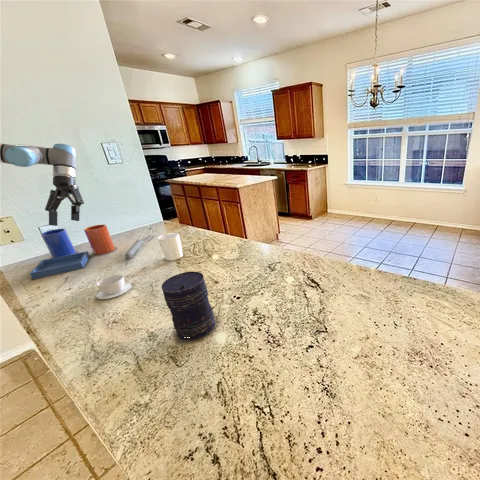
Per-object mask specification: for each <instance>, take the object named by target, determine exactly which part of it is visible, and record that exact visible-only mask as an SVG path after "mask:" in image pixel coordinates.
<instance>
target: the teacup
mask: <svg viewBox="0 0 480 480" xmlns="http://www.w3.org/2000/svg"><path fill="white" fill-rule="evenodd" d="M96 286H97V288H98V289H99V291H98V292H97V294H96V295H95V297H96V299H99V300H108V299H114V298H115V297H119V296H121V295H124V294H125V293H126V292H128V291H129V290H130V289H131V288H132V283H130V282H125V278H124V275H123V274H112V275H108V276H106V277H103V278H102V279H100V280H98V281H97V282H96Z"/></svg>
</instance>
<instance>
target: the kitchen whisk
mask: <svg viewBox="0 0 480 480" xmlns="http://www.w3.org/2000/svg"><path fill="white" fill-rule="evenodd" d="M147 228H148V229H149V230H150V231H149V232H148V234H151V232H152V233H154V232H153V231H155V233H157V232H156V230H153V229H154V226H153V227H152V226H151V224H149V225H147ZM144 230H145V229H144ZM146 232H147V229H146V230H145V231H144V232H143V233H142V231H139V233H138V235H137V236H138V237H140V238H139V239H136V241H135V242H134V243H133V244H132V245H131V246H130V248H129V249H128V250H127V251H126V252H125V253H124V254H123V258H124V259H125V260H127V261H130V259H131V258H132V257H133V256H134V255H135V253H136V252H137V251H138V250H139V248H141V246H142V245H143V243H144V242H147V241H149V240H150V239H151V238H153V237H154V234H152V235H151V236H150V237H149V235H146V238H145V239H143V238H142V237H143V236H144V235H145V233H146ZM141 233H142V234H141ZM148 237H149V238H148Z"/></svg>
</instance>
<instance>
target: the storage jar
mask: <svg viewBox="0 0 480 480" xmlns="http://www.w3.org/2000/svg"><path fill="white" fill-rule="evenodd" d="M160 286H161V287H160V288H161V291H162V293H163V298H164V301H165V304H166V306H167V308H168V309H169V311H170V315H171V321H172V323H173V328H174V330H175V332H176V335H177V338H178V339H179V340H181V341H183V342H193V341H196V340H197V341H198V340H199V339H202V338H204V337H206V336H208V335H209V334H210V333H211V332H212V331H213V330H214V329H215V327H216V320H215V314H214V310H213V307H212V305H211V303H210V301H209V291H208V288H207V283H206V280H205V277H204V274H203V273H201V272H199V271H186V272H181V273H178V274H175V275H173V276H171V277H169V278H168V279H166V280H164V281H163V283H162V284H161V285H160ZM184 337H186V338H184ZM187 337H190V338H187Z"/></svg>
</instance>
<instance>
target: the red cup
mask: <svg viewBox="0 0 480 480" xmlns="http://www.w3.org/2000/svg"><path fill="white" fill-rule="evenodd" d="M83 231H84V233H85V236H86V238H87V240H88V243H89V245H90V248H91V250H92V252H93V255H95V256H100V255H101V256H102V255H105V254H109V253H112V252H114V251H115V250H116V247H115V245H114V242H113V239H112V236H111V234H110V231H109V229H108V226H107V225H106V224H103V223H102V224H95V225H91V226H88V227H85V228H84V229H83Z"/></svg>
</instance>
